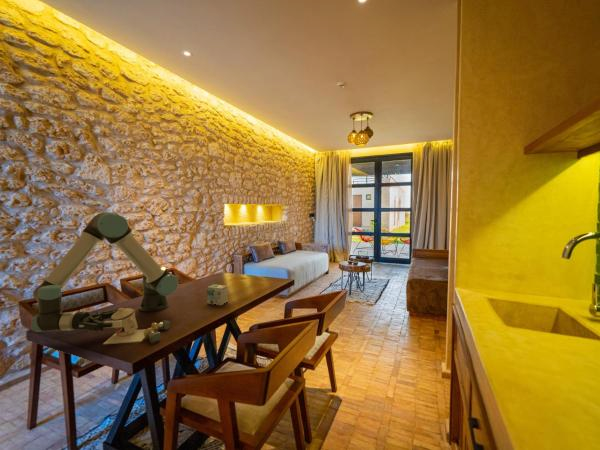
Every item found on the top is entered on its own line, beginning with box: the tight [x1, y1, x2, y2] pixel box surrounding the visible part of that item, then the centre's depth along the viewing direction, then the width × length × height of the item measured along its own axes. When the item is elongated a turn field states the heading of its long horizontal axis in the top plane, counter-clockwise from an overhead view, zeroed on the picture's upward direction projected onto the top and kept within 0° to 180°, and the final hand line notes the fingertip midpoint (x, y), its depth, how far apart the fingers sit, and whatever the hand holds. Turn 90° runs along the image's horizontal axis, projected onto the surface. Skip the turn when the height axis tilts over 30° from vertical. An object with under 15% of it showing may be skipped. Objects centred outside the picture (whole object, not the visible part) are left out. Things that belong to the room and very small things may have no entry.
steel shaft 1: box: [144, 327, 161, 344], centre depth 123 cm, size 7×4×5 cm, turn 54°
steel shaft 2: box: [150, 319, 170, 332], centre depth 134 cm, size 7×4×5 cm, turn 144°
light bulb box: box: [206, 284, 228, 306], centre depth 175 cm, size 11×7×11 cm, turn 71°
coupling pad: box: [102, 328, 147, 345], centre depth 127 cm, size 13×15×1 cm
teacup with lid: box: [110, 307, 139, 336], centre depth 128 cm, size 12×9×12 cm
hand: (128, 318), depth 126 cm, fingers open, 13 cm apart
